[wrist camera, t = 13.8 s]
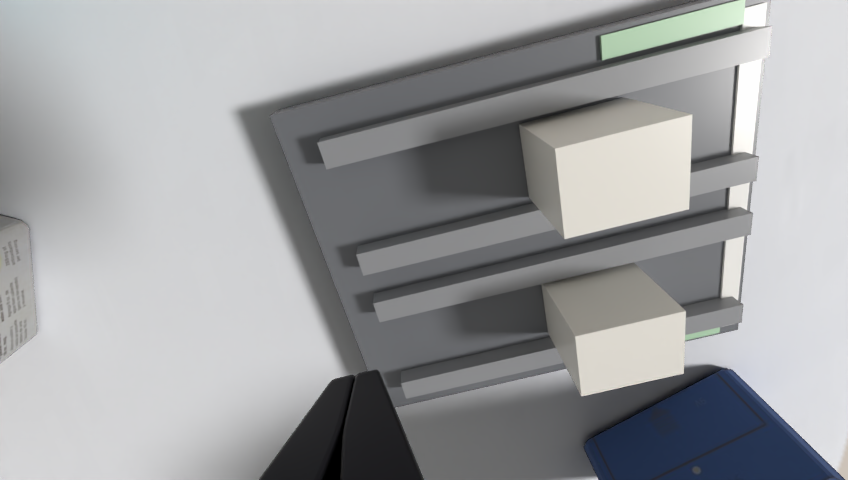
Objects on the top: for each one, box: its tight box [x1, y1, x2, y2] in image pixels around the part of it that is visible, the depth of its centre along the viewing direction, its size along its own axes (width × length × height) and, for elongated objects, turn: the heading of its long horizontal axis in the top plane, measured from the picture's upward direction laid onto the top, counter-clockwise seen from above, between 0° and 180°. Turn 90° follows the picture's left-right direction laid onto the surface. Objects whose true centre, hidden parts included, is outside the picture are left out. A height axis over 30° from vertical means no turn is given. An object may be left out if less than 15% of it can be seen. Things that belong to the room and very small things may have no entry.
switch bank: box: [270, 0, 772, 408], centre depth 19 cm, size 18×15×2 cm
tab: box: [541, 262, 686, 397], centre depth 18 cm, size 4×3×4 cm
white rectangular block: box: [519, 97, 692, 239], centre depth 15 cm, size 4×3×4 cm
